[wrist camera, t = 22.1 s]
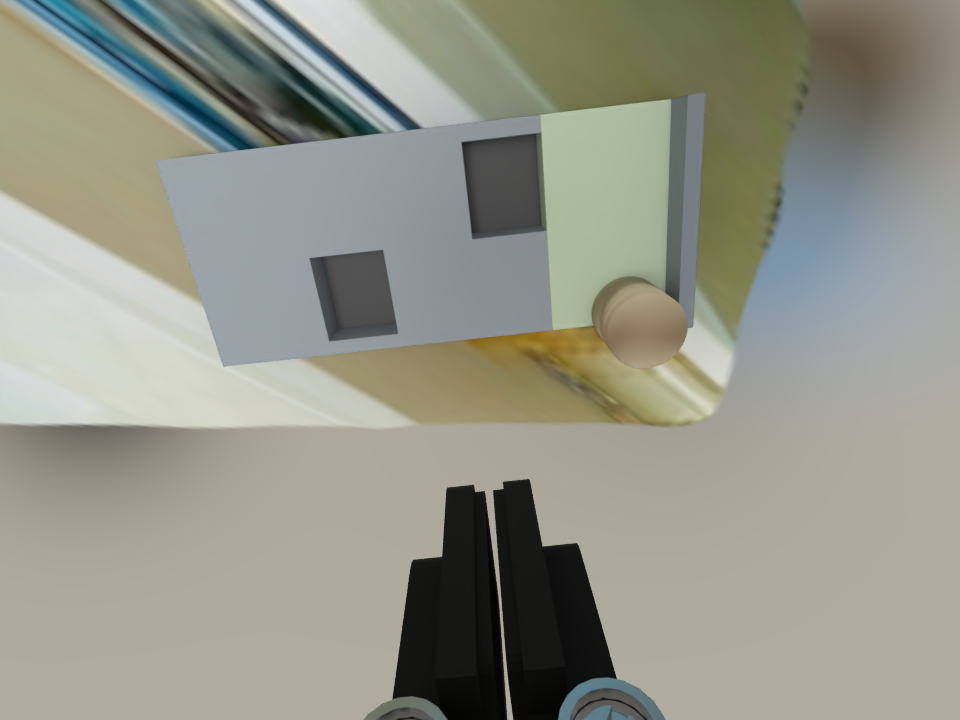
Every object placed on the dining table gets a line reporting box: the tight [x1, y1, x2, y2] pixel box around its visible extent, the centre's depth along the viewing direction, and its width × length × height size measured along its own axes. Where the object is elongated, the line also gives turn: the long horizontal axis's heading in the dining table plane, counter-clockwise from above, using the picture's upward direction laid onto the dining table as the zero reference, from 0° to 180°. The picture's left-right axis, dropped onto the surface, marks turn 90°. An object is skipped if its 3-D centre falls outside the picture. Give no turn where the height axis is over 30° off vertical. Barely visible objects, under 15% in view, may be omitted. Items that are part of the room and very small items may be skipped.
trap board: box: [156, 93, 706, 367], centre depth 34 cm, size 14×33×6 cm, turn 96°
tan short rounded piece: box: [592, 276, 688, 369], centre depth 34 cm, size 5×5×4 cm
